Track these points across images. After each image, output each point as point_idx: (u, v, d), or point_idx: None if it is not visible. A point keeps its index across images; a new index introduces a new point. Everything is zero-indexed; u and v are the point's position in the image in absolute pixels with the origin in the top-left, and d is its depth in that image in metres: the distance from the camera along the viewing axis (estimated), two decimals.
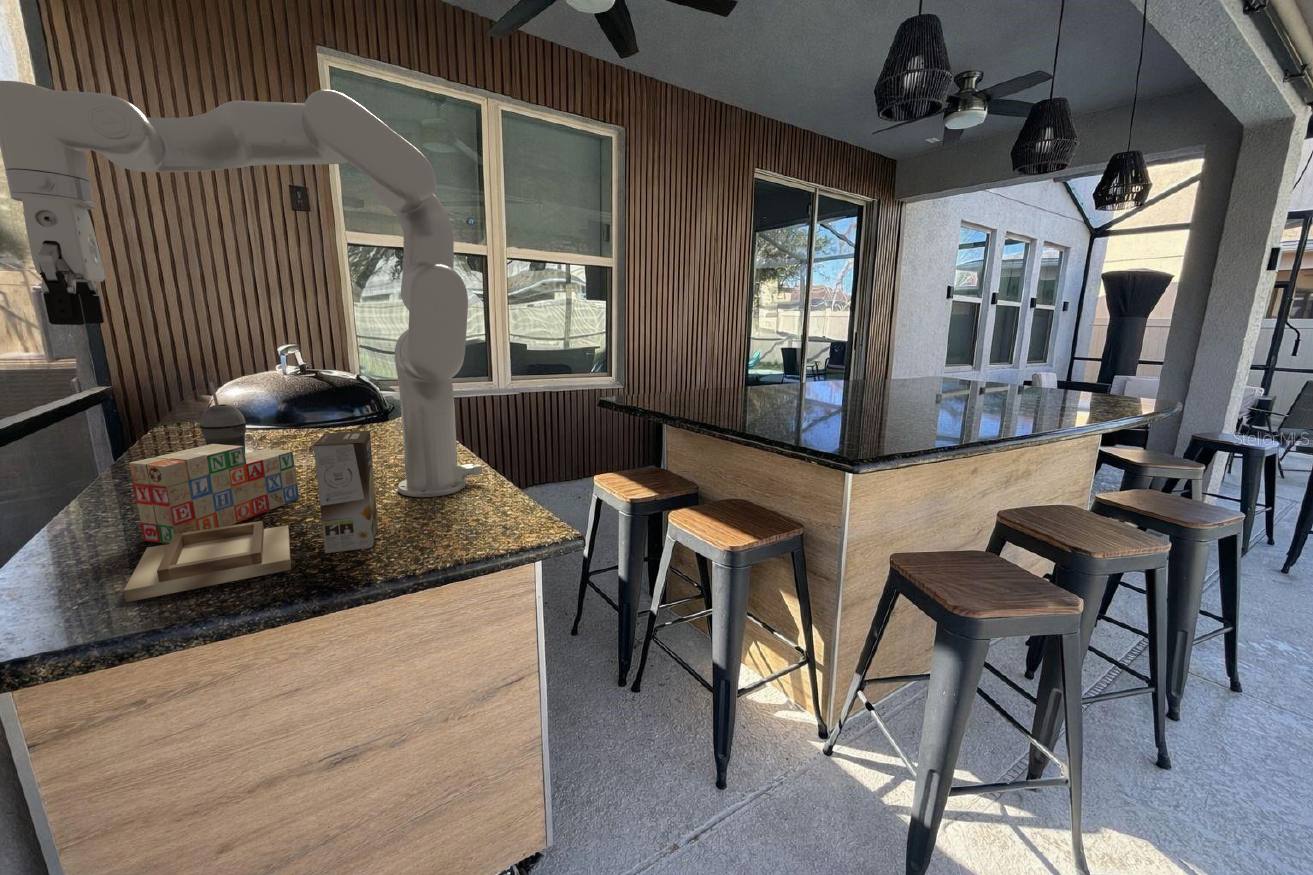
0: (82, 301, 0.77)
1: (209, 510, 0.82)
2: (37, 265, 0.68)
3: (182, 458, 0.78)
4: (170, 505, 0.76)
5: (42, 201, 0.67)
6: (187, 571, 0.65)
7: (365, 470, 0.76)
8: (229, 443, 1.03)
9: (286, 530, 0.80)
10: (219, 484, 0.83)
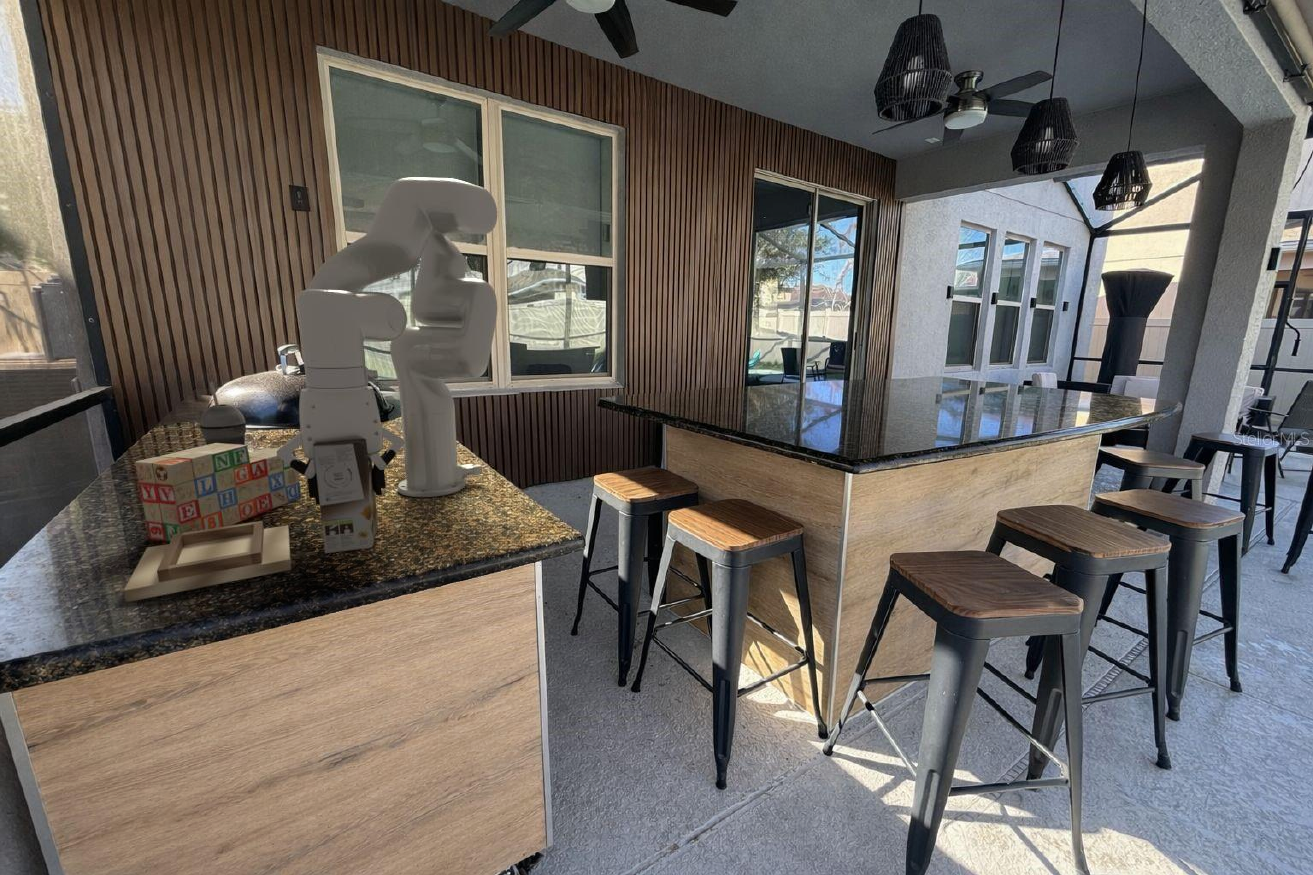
0: None
1: (214, 509, 0.82)
2: (382, 444, 0.80)
3: (187, 457, 0.79)
4: (176, 504, 0.77)
5: None
6: (187, 571, 0.65)
7: (365, 470, 0.76)
8: (229, 443, 1.03)
9: (286, 530, 0.80)
10: (224, 483, 0.84)
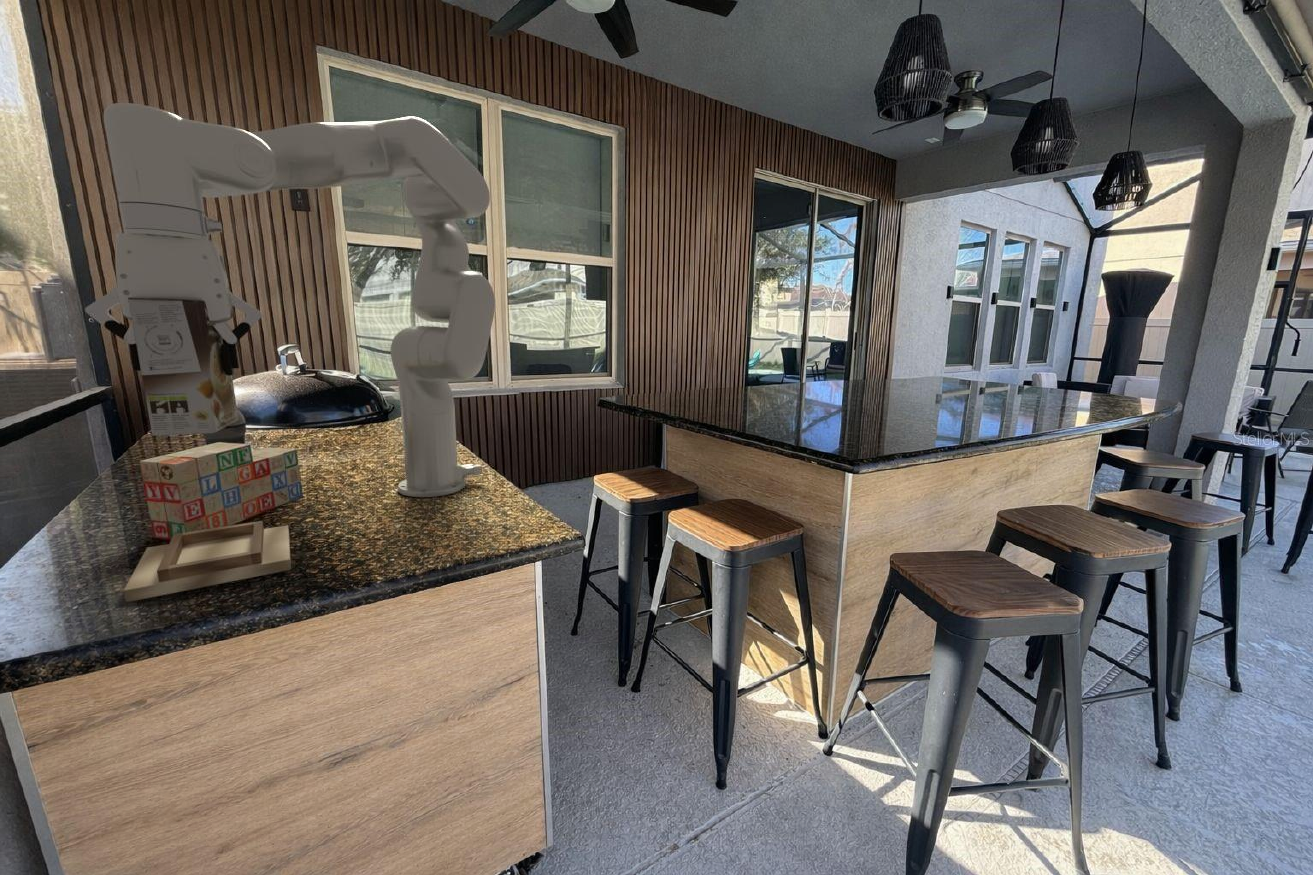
0: None
1: (218, 507, 0.83)
2: (229, 311, 0.67)
3: (192, 456, 0.80)
4: (181, 502, 0.78)
5: None
6: (187, 571, 0.65)
7: (200, 335, 0.63)
8: None
9: (286, 530, 0.80)
10: (227, 482, 0.84)
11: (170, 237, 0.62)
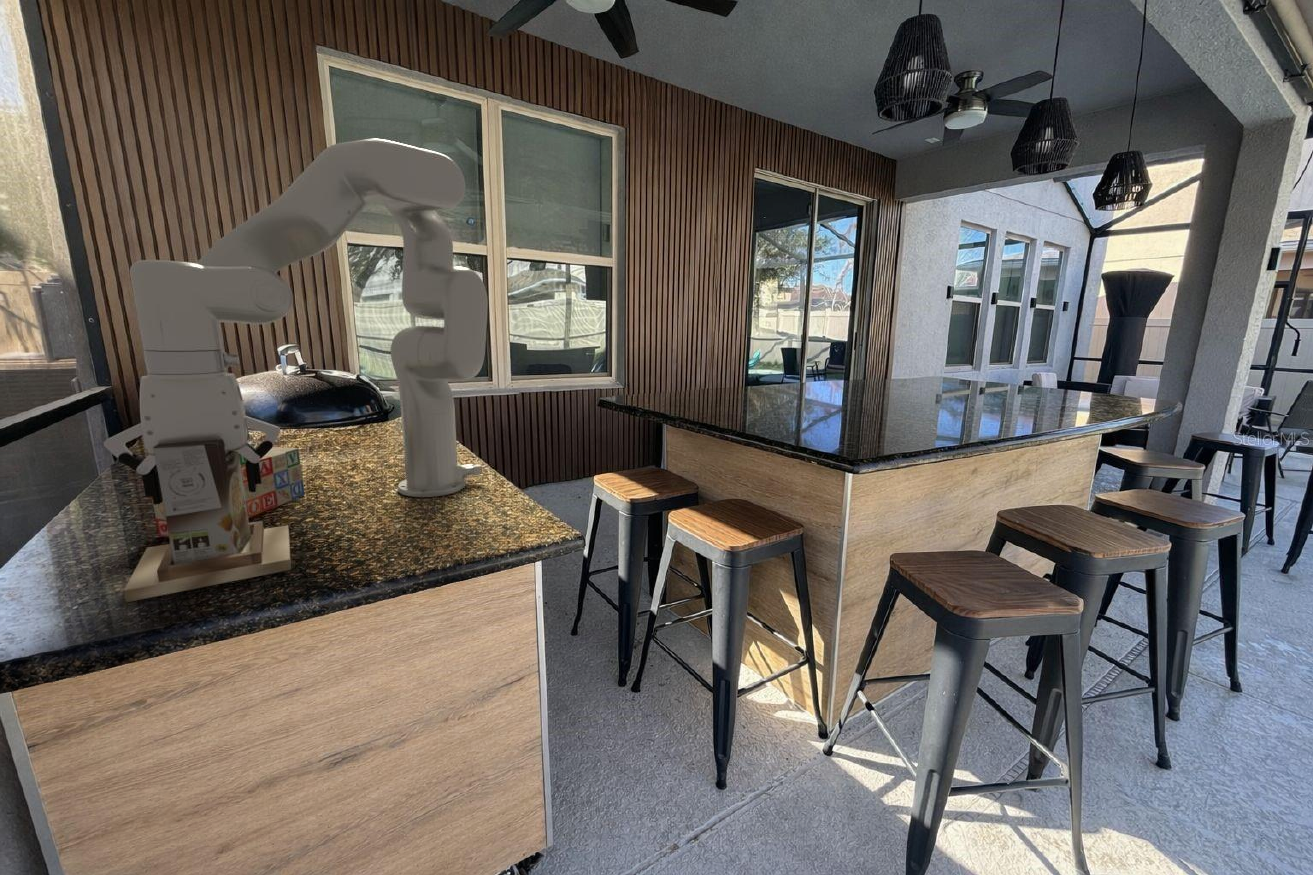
0: None
1: None
2: (245, 439, 0.70)
3: None
4: None
5: None
6: (187, 571, 0.65)
7: (221, 475, 0.67)
8: None
9: (286, 530, 0.80)
10: None
11: (191, 378, 0.65)
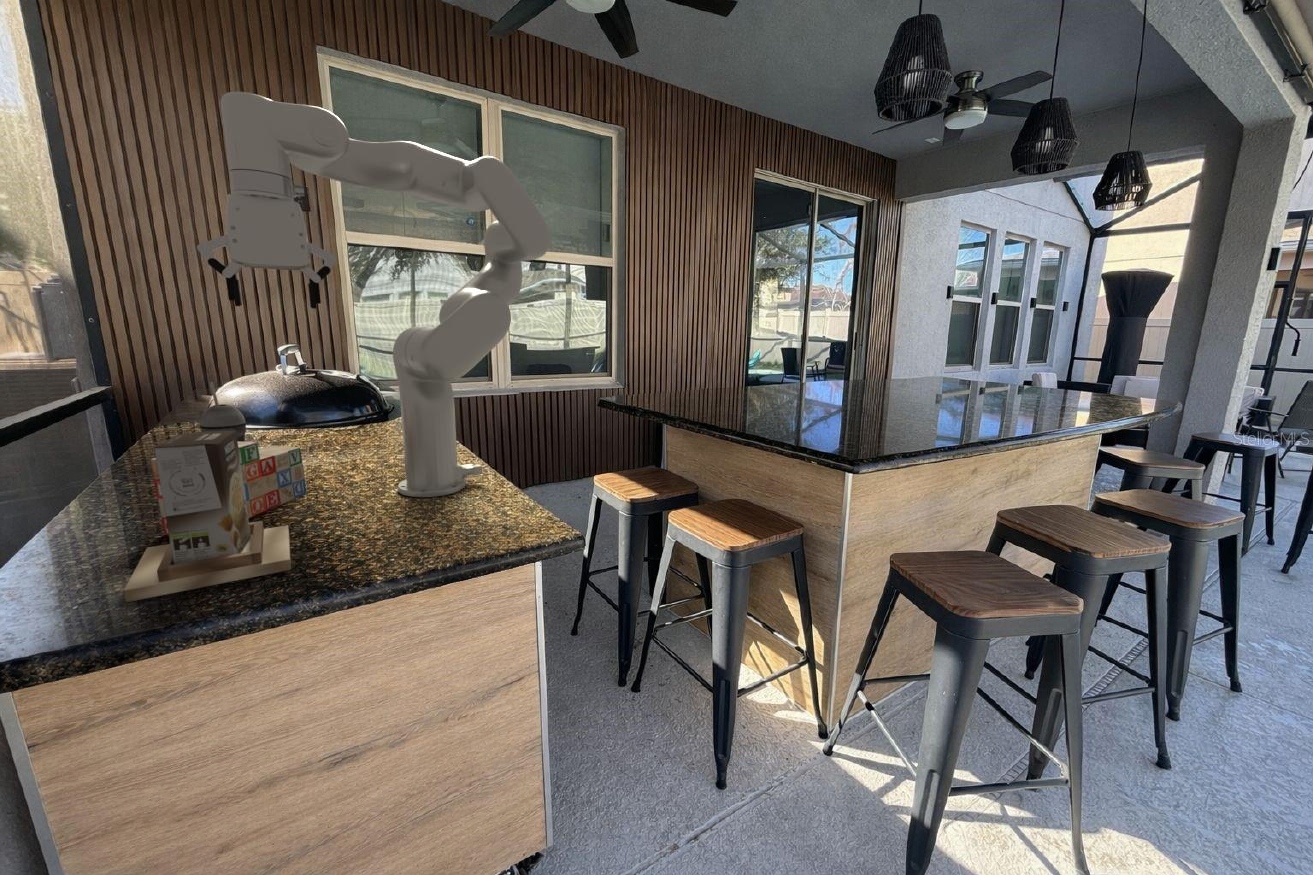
0: (238, 285, 0.80)
1: None
2: (309, 260, 0.83)
3: None
4: None
5: None
6: (187, 571, 0.65)
7: (221, 475, 0.67)
8: None
9: (286, 530, 0.80)
10: None
11: (268, 198, 0.78)
